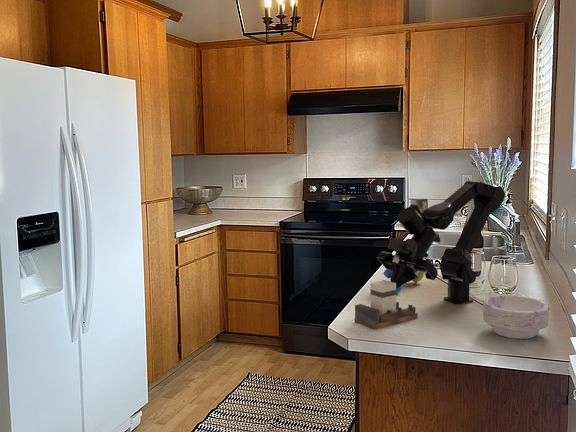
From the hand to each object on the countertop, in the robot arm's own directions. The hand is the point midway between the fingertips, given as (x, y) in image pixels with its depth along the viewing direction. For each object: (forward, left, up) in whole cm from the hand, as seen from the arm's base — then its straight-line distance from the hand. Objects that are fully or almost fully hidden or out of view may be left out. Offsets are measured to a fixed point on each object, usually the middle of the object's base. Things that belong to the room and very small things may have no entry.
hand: (390, 289), depth 155 cm
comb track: (-1, +3, -8) cm, 9 cm away
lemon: (+31, -27, -8) cm, 42 cm away
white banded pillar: (-1, +3, -7) cm, 7 cm away
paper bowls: (-23, -22, -8) cm, 33 cm away
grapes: (+25, -15, -8) cm, 31 cm away
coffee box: (+140, -97, -8) cm, 171 cm away
